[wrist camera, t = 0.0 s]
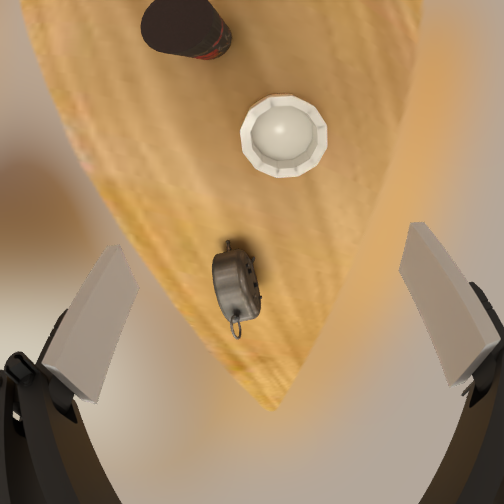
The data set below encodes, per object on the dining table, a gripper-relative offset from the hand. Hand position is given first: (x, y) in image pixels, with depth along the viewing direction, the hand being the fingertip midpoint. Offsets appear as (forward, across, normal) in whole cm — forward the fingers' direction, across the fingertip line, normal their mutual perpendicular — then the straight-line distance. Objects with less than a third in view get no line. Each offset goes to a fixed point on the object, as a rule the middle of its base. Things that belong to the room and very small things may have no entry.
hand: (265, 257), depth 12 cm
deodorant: (+28, -5, +13) cm, 32 cm away
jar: (+28, +3, -1) cm, 28 cm away
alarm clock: (+28, -5, -22) cm, 36 cm away
